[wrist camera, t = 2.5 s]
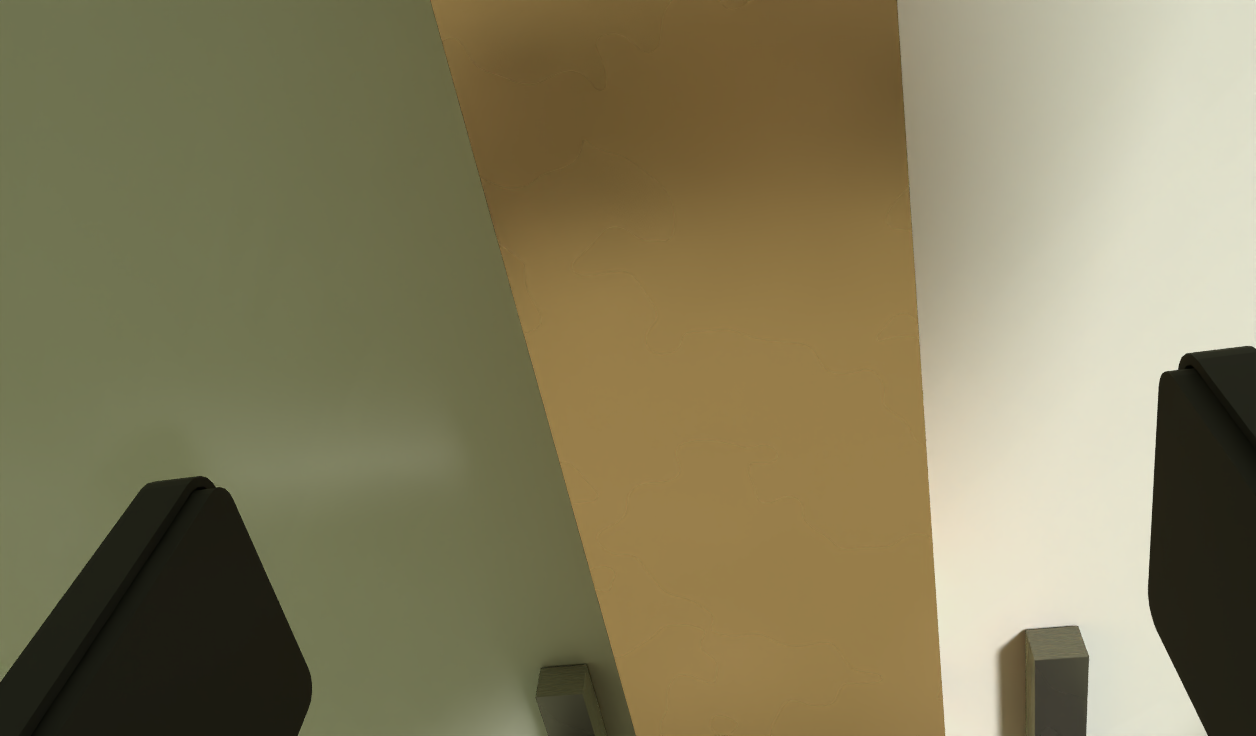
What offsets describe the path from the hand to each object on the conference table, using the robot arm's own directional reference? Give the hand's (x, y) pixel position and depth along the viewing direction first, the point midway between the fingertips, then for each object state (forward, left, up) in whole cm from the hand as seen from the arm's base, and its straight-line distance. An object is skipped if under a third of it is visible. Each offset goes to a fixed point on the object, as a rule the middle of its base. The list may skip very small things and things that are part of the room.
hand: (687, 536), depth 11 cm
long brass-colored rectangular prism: (+4, 0, -8) cm, 9 cm away
